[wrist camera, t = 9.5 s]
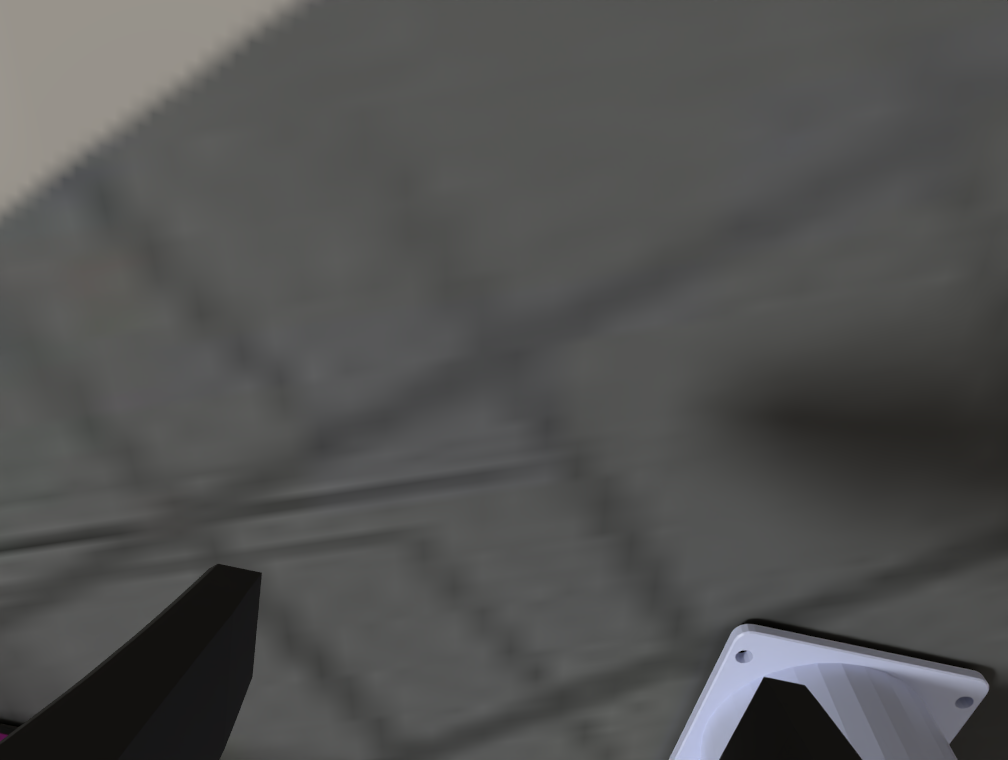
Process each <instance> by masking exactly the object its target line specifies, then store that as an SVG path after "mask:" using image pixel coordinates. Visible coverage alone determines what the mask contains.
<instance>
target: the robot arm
mask: <svg viewBox="0 0 1008 760" xmlns="http://www.w3.org/2000/svg"><path fill="white" fill-rule="evenodd" d="M261 575H262V573H260V572H255V571H250V570H245V569H241V568H236V567H231V566H226V565H221V564H217V565H215V566H213V567H211V568H209V569H208V570H207V571H206V572H205V573H204V574H203V575H202V576H201V577H200V578H199V579H198V580H197V581H195V582H194V583H193V584H192V585H191V586H190V587H189V588H188V589H187V590H186V591H185V592H183V593H182V594H181V595H180V596H179V597H178V598H177V599H176V600H175V601H174V602H172V603H171V604H170V605H169V606H168V607H167V608H166V609H165V610H164V611H162V612H161V613H160V614H159V615H158V616H157V617H156V618H154V619H153V620H152V621H151V622H150V623H149V624H147V625H146V626H145V627H144V628H143V629H142V630H141V631H139V632H138V633H137V634H136V635H135V636H134V637H132V638H131V639H130V640H129V641H128V642H126V643H125V644H124V645H123V646H122V647H120V648H119V649H118V650H117V651H115V652H114V653H113V654H112V655H111V656H109V657H108V658H107V659H106V660H105V661H103V662H102V663H101V664H100V665H98V666H97V667H96V668H95V669H94V670H92V671H91V672H90V673H89V674H88V675H86V676H85V677H84V678H83V679H81V680H80V681H79V682H78V683H76V684H75V685H74V686H73V687H71V688H70V689H69V690H67V691H66V692H65V693H63V694H62V695H61V696H59V697H58V698H57V699H56V700H54V701H53V702H52V703H50V704H49V705H48V706H46V707H45V708H44V709H42V710H41V711H40V712H38V713H37V714H36V715H34V716H33V717H32V718H30V719H29V720H28V721H26V722H25V723H24V724H22V725H21V726H20V727H18V728H17V729H16V730H14V731H13V732H12V733H10V734H9V735H8V736H6V737H5V738H4V739H2V740H1V741H0V760H219V759H220V757H221V755H222V753H223V751H224V749H225V746H226V743H227V741H228V738H229V736H230V733H231V731H232V728H233V726H234V723H235V721H236V718H237V716H238V713H239V710H240V708H241V705H242V702H243V700H244V697H245V695H246V692H247V689H248V687H249V684H250V681H251V679H252V675H253V664H254V653H255V642H256V631H257V620H258V609H259V597H260V586H261ZM742 650H747V651H746V652H743V653H738V652H740V651H742ZM988 691H989V684H988V682H987V681H986V680H985V678H984V677H983V675H982V674H981V673H980V672H977V671H974V670H970V669H965V668H960V667H955V666H951V665H946V664H941V663H936V662H932V661H927V660H922V659H917V658H913V657H908V656H903V655H898V654H893V653H889V652H884V651H879V650H874V649H870V648H865V647H860V646H855V645H851V644H846V643H841V642H836V641H832V640H827V639H822V638H817V637H813V636H808V635H803V634H798V633H794V632H789V631H784V630H779V629H774V628H770V627H765V626H760V625H755V624H743V625H740V626H738V627H736V628H735V629H734V630H733V631H732V633H731V635H730V637H729V639H728V641H727V643H726V645H725V647H724V649H723V651H722V653H721V655H720V657H719V659H718V661H717V663H716V665H715V667H714V669H713V671H712V673H711V675H710V677H709V679H708V681H707V683H706V685H705V687H704V689H703V691H702V693H701V695H700V697H699V699H698V701H697V704H696V706H695V708H694V710H693V712H692V714H691V716H690V718H689V720H688V722H687V724H686V726H685V728H684V730H683V732H682V734H681V736H680V738H679V740H678V742H677V744H676V746H675V748H674V750H673V752H672V754H671V756H670V758H669V760H957V758H956V756H955V754H954V752H953V751H952V749H951V747H950V745H949V744H950V743H951V741H952V740H953V739H954V737H955V736H956V735H957V733H958V732H959V731H960V729H961V728H962V727H963V725H964V724H965V723H966V721H967V720H968V719H969V717H970V716H971V715H972V713H973V712H974V711H975V709H976V708H977V707H978V705H979V704H980V703H981V701H982V700H983V699H984V697H985V696H986V695H987V693H988Z"/></svg>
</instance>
